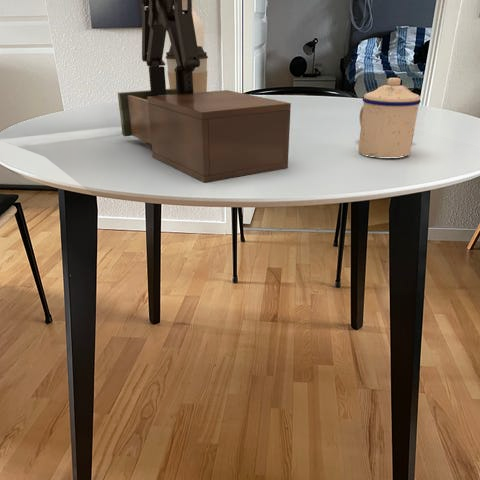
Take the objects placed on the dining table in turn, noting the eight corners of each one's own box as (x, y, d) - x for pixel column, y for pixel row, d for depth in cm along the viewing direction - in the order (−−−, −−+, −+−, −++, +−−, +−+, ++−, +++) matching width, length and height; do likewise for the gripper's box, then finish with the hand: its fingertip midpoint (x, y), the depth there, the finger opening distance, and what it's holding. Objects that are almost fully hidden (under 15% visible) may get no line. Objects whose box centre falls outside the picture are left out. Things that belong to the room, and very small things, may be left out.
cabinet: (152, 157, 83) (146, 96, 78) (227, 146, 90) (227, 90, 85) (204, 182, 70) (201, 112, 65) (287, 167, 77) (291, 103, 72)
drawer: (120, 134, 94) (114, 91, 90) (184, 127, 101) (181, 86, 97) (160, 153, 82) (156, 104, 78) (230, 143, 88) (230, 97, 84)
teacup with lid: (422, 156, 83) (437, 79, 77) (378, 162, 80) (389, 82, 74) (378, 142, 92) (388, 72, 86) (336, 147, 89) (343, 75, 83)
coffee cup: (196, 115, 118) (193, 42, 110) (217, 120, 112) (216, 44, 104) (162, 119, 113) (156, 44, 105) (182, 125, 107) (178, 46, 99)
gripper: (220, -52, 70) (223, 117, 82) (153, -39, 86) (164, 100, 98) (172, -55, 67) (182, 121, 78) (112, -41, 83) (128, 103, 95)
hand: (172, 110), depth 88 cm, fingers closed on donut, 10 cm apart
